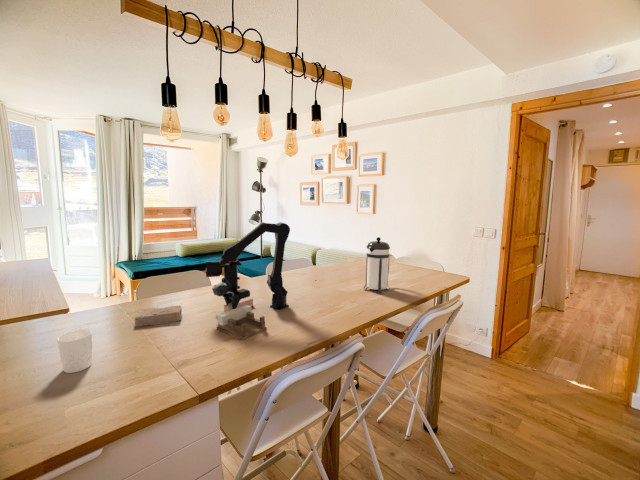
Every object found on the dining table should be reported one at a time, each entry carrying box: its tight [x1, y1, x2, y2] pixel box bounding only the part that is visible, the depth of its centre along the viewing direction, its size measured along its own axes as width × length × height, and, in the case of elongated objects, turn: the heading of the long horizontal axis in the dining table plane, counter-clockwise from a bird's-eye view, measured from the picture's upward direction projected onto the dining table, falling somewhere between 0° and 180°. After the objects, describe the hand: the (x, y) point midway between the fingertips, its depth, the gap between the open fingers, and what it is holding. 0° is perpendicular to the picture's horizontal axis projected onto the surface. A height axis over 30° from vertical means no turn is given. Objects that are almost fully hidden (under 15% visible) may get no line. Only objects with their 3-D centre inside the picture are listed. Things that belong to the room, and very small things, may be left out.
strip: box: [216, 305, 252, 326], centre depth 120 cm, size 14×3×4 cm, turn 144°
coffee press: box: [363, 237, 391, 294], centre depth 171 cm, size 17×16×30 cm
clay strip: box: [223, 296, 254, 313], centre depth 138 cm, size 14×3×4 cm, turn 144°
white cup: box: [56, 329, 93, 374], centre depth 90 cm, size 8×8×10 cm
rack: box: [216, 311, 267, 341], centre depth 118 cm, size 12×15×5 cm
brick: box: [134, 305, 183, 327], centre depth 125 cm, size 17×8×5 cm, turn 111°
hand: (231, 309), depth 135 cm, fingers closed on clay strip, 3 cm apart
